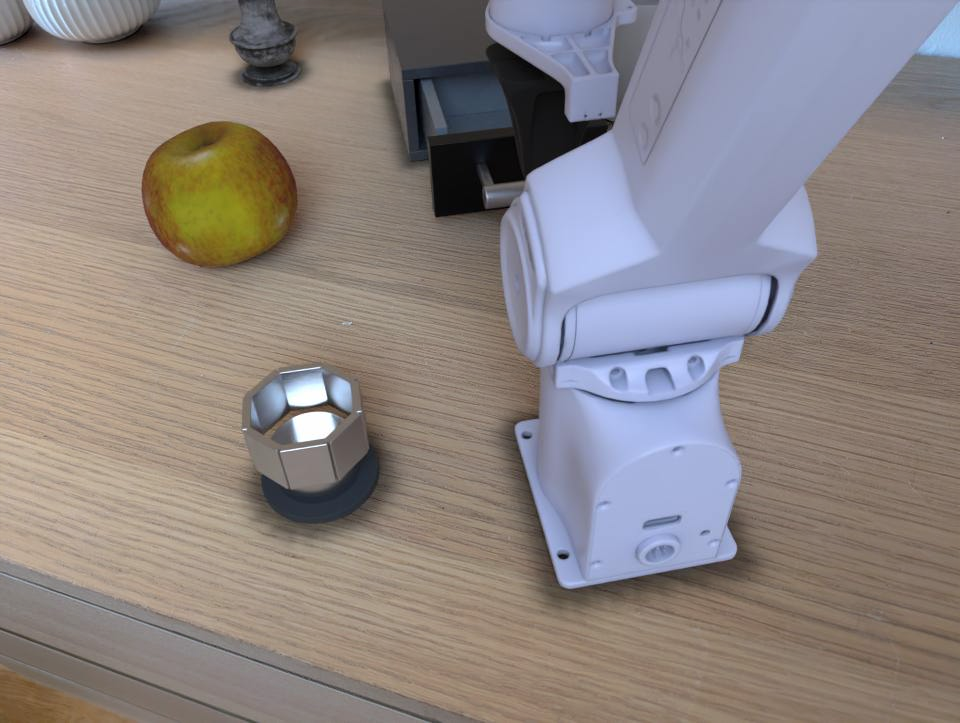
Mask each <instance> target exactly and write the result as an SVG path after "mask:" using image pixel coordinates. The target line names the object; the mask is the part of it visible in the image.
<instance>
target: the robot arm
mask: <svg viewBox="0 0 960 723" xmlns="http://www.w3.org/2000/svg"><path fill="white" fill-rule="evenodd" d="M959 2H960V0H660V2H659V4H658V7H657V10H656V12H655V15H654V18H653V20H652V23H651V26H650V28H649V31H648V34H647V36H646V39H645V42H644V45H643V47H642V50H641V53H640V55H639V58H638V61H637V63H636V66H635V69H634V71H633V74H632V77H631V80H630V82H629V85H628V88H627V90H626V93H625V96H624V98H623V101H622V104H621V106H620V109H619V112H618V114H617V117H616V120H615V122H613V126H612V128H611V129H610V130H607V133H605V134H603V135H601V136H599V137H597V138H596V139H594V140H592V141H590V142H588V143H586V144H584V145H582V146H580V144H581V141H582V138H583V136H584V133H585V131H586V128H587V126H588V124H589V122H590V120H597V119H605V118H612V117H615V113H616V103H617V92H618V81H619V73H618V72H617V70H616V68H615V67H614V64H613V48H614V39H615V29H616V28H617V27H618V26H622V25H630V24H633V23H635V22H636V18H637V6H636V5H635V4H634V3H633V2H632V1H631V0H489V3H488V5H487V8H486V12H485V26H486V31H487V33H488V34H489V36H490V37H491V38H492V39H494V40H495V41H496V42H497V43H494V44H492V45H490V46H488V47H487V48H486V56H487V58H488V60H489V62H490V64H491V66H492V68H493V70H494V72H495V74H496V77H497V79H498V81H499V83H500V85H501V87H502V89H503V92H504V95H505V98H506V102H507V105H508V109H509V113H510V117H511V121H512V126H513V131H514V136H515V142H516V147H517V152H518V157H519V162H520V166H521V170H522V173H523V176H524V179H525V181H526V182H525V186H524V190H523V193H522V194H521V195H520V196H518V197H516V198H515V199H514V200H513V202H512V203H511V206H510V208H508V209H506V212H505V213H504V214H503V216H502V218H501V221H500V228H499V261H500V263H499V264H500V274H501V281H502V291H503V297H504V303H505V308H506V313H507V319H508V322H509V327H510V331H511V334H512V337H513V340H514V343H515V346H516V347H517V349H518V351H519V353H520V354H521V355H523V356H524V357H526V358H527V360H529V361H530V362H531V364H532V365H533V366H535V367H536V368H540V369H539V370H540V371H539V376H540V377H539V400H538V401H539V402H538V418H533V419H526V420H521V421H518V422H517V423H516V424H515V425H514V437H515V439H516V443H517V446H518V449H519V454H520V456H521V460H522V463H523V467H524V471H525V474H526V477H527V480H528V484H529V488H530V491H531V494H532V498H533V501H534V503H535V504H534V505H535V509H536V511H537V516H538V518H539V522H540V525H541V529H542V533H543V536H544V539H545V542H546V545H547V549H548V552H549V556H550V559H551V563H552V566H553V570H554V573H555V576H556V580H557V582H558V584H559V585H560V587H562V588H565V589H567V590H572V589H573V590H574V589H578V588H584V587H589V586H595V585H600V584H605V583H611V582H616V581H623V580H627V579H632V578H636V577H642V576H643V577H644V576H648V575H655V574H660V573H665V572H666V573H667V572H670V571H676V570H681V569H687V568H693V567H698V566H703V565H708V564H714V563H720V562H725V561H730V560H732V559H734V558H735V556H736V555H737V552H738V545H737V543H736V540H735V539H734V536H733V534H732V533H731V530H730V528H729V526H728V522H729V520H730V517H731V513H732V510H733V506H734V503H735V500H736V497H737V494H738V490H739V487H740V484H741V480H742V473H743V469H742V463H741V460H740V457H739V454H738V451H737V450H736V448H735V446H734V444H733V441H732V439H731V437H730V434H729V432H728V430H727V427H726V425H725V420H724V417H723V412H722V408H721V404H720V384H719V382H720V374H721V368H723V367H725V366H727V365H730V364H734V363H738V362H739V361H740V358H741V355H742V351H743V348H744V347H743V346H744V344H745V340H746V338H750V337H756V336H757V337H758V336H764V335H766V334H767V335H768V334H769V333H771V332H772V331H773V330H775V329H776V328H777V327H778V325H779V324H780V323H781V321H782V319H783V318H784V315H785V313H786V311H787V310H788V307H789V305H790V303H791V301H792V300H793V296H794V293H795V287H796V283H797V281H798V279H799V277H800V276H801V274H802V273H803V272H804V271H805V270H806V268H807V267H809V265H810V264H811V263H813V261H815V260H816V259H817V257H818V254H819V250H818V242H817V234H816V227H815V226H816V225H815V219H814V213H813V210H812V207H811V203H810V199H809V196H808V191H807V189H806V187H805V186H806V185H805V183H806V182H807V180H809V178H810V177H811V176H812V175H813V174H814V173H815V172H816V170H817V169H818V168H819V167H820V166H821V164H823V163H824V161H825V160H826V159H827V158H828V156H829V155H830V154H831V153H832V152H833V150H835V148H837V146H838V144H839V143H840V142H841V141H842V140H843V138H844V137H845V136H846V135H847V134H848V133H849V132H850V131H851V129H852V128H853V127H854V126H855V124H857V123H858V121H859V120H860V118H862V116H863V115H864V114H865V112H867V110H868V109H869V108H870V107H871V106H872V105H873V103H874V102H875V101H876V100H877V99H878V97H880V95H881V94H882V93H883V92H884V90H886V88H887V87H888V86H889V85H890V83H891V82H892V81H893V80H894V79H895V78H896V76H897V75H898V74H899V73H900V71H902V70H903V68H904V67H905V66H906V65H907V63H908V62H909V61H910V60H911V59H912V57H914V55H915V54H916V53H917V52H918V51H919V49H920V48H921V47H922V46H923V45H924V43H925V42H926V41H927V40H928V39H929V37H930V36H931V35H932V34H933V33H934V31H935V30H936V29H937V28H938V27H939V26H940V24H941V23H942V22H943V21H944V20H945V18H947V16H948V15H949V14H950V13H951V11H952V10H953V9H954V8H955V7H956V6H957V4H958V3H959ZM525 437H529V438H525ZM560 555H565V556H567V558H565V559H563V558H560V557H559V556H560Z"/></svg>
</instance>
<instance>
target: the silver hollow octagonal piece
mask: <svg viewBox="0 0 960 723" xmlns="http://www.w3.org/2000/svg"><path fill="white" fill-rule="evenodd" d="M241 406H242V408H241V432H242V435H243V438H244V441H245V444H246V447H247V450H248V453H249V456H250V458H251V462H252V465H253V467H254V468H255V470H256V472H259V473H260V474H261V475H262V474H263V475H265V476H267V477H268V478H270V479H272V480H273V481H275V482H277V483H278V486H279V488H280V489H281V491H282V492H283V493H284V494H285V495H287V496H288V497H289V498H291V499H293V500H296V501H298V502H303V503H321V502H326V501H329V500H332V499H334V498H336V497H338V496H340V495H342V494H343V493H344V492H346V491H347V490H348V489H349V488H350V487H351V486H352V485H353V483H354V482H355V480H356V479H357V477H358V474H359V471H360V460H361V459H362V458H363V457H364V456H365V455H366V454H367V453H368V450H369V443H370V442H369V436H368V435H369V434H368V426H367V418H366V413H365V407H364V402H363V396H362V390H361V385H360V381H359V380H358V378H357V377H355V376H354V375H351V374H349V373H347V372H345V371H343V370H341V369H340V368H337V367H336V366H333V365H331V364H329V363H327V362H325V361H324V362H322V361H316V362H310V363H303V364H296V365H290V366H283V367H278V369H274V370H273V371H272V372H270V373H269V374H268V375H267V376H265V377H263V379H262V380H261V381H259V382H258V383H257V384H256V385H255V386H253V387H252V388H251V389H250V390H249V391H247V392H246V393H245V394H244V397H242V405H241ZM321 407H331V408H333V409H334V410H337V411H339V412H340V413H342V414H345V416H346V418H344V417H342V416H340V415H338V414H336V413H332V412H329V411H309V412H305V413H301V414H297V415H296V416H295V415H294V416H293V417H291V418H290V419H287V420H286V421H284V422H283V424H281V425H280V426H279V427H278V428H277V429H276V430H275V431H274V433H273V434H272V436H271V438H270V437H268V436H267V435H266V434H267V433H268V432H269V431H270V430H271V429H272V428H273V427H275V426H276V425H277V424H278V423H279V422H280V421H281V420H283V419H284V418H285V417H286V416H287V415H288V414H289V413H291V412H296V411H301V410H309V409H315V408H321ZM368 442H369V443H368Z"/></svg>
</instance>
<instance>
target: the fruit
mask: <svg viewBox="0 0 960 723" xmlns="http://www.w3.org/2000/svg"><path fill="white" fill-rule="evenodd" d="M141 178H142V179H141V200H142V206H143V210H144V215H145V216H146V219H147V221H148V225H149V227H150V228H151V231H152V232H153V233H154V235H155V237H156V238H157V240H158V241H159V242H160V243H161V245H162V246H163V247H164V248H166V250H167V251H169V252H170V253H171V254H173V255H174V257H176V258H178V259H179V260H181V261H183V262H185V263H189V264H192V265H195V266H199V267H208V268H213V267H214V268H215V267H227V266H231V265H236V264H239V263H242V262H244V261H247V260H249V259H252V258H254V257H256V256H259V255H261V254H262V253H264V252H267V251H268V250H270V249H271V248H273V247H274V246H275V245H276V244H278V243H279V242H280V241H282V239H283V238H284V236H285V235H286V234H287V233H288V232H289V230H290V229H291V226H292V224H293V222H294V220H295V218H296V214H297V210H298V188H297V183H296V179H295V175H294V173H293V171H292V168H291V166H290V165H289V162H288V161H287V159H286V158H285V156H284V155H283V154H282V152H281V151H280V149H279V148H278V147H277V146H276V145H275V143H273V142H272V140H270V139H269V138H268V137H267V135H264V134H263V133H261V132H260V131H259V130H257V129H255V128H253V127H251V126H249V125H247V124H245V123H244V124H243V123H240V122H235V121H230V120H229V121H228V120H218V121H217V120H216V121H209V122H205V123H202V124H199V125H196V126H193V127H191V128H188V129H186V130H184V131H181V132H179V133H178V134H176V135H174V136H172V137H171V138H169V139H167V140H166V141H164V142H163V143H161V144H160V145H158V147H156V148H155V150H154V151H152V153H151V154H150V155H149V157H148V159H147V160H146V163H145V166H144V169H143V172H142V177H141Z"/></svg>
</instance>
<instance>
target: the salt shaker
mask: <svg viewBox="0 0 960 723" xmlns="http://www.w3.org/2000/svg"><path fill="white" fill-rule="evenodd" d="M237 2H238V7H239V11H240V25H239V26H236V27H234V28H233V29H232V30H231V31H230V33H229V35H228V41H229V42H230V43H231V44H232V45H233V46H234V49H235V51H236V54H238V56H239V57H240V58H241V60H242V61H244V62H245V63H247V64H248V65H247V66H246V67H245V68H244V69H243V70H242V72H241V73H240V74H241V75H240V76H241V79H242V81H243V82H244V83H246V84H247V85H250V86H251V85H252V86H254V87H274V86H279V85H280V86H281V85H283V84H287V83H289V82H292V81H293V80H296V79H297V78H298V77H299V76H300V75H301V73H302V66H301V65H300V64H299V63H298V62H296V61H295V60H292V59H290V58H291V57H292V55H293V54H294V51H295V48H296V43H297V41H296V40H297V39H296V37H297V35H298V32H299V31H298V27H297V26H296V25H295V24H294V23H292V22H290V21H287V20H282V19H281V17H280V15H279V12H278V9H277V6H276V1H275V0H237Z"/></svg>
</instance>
